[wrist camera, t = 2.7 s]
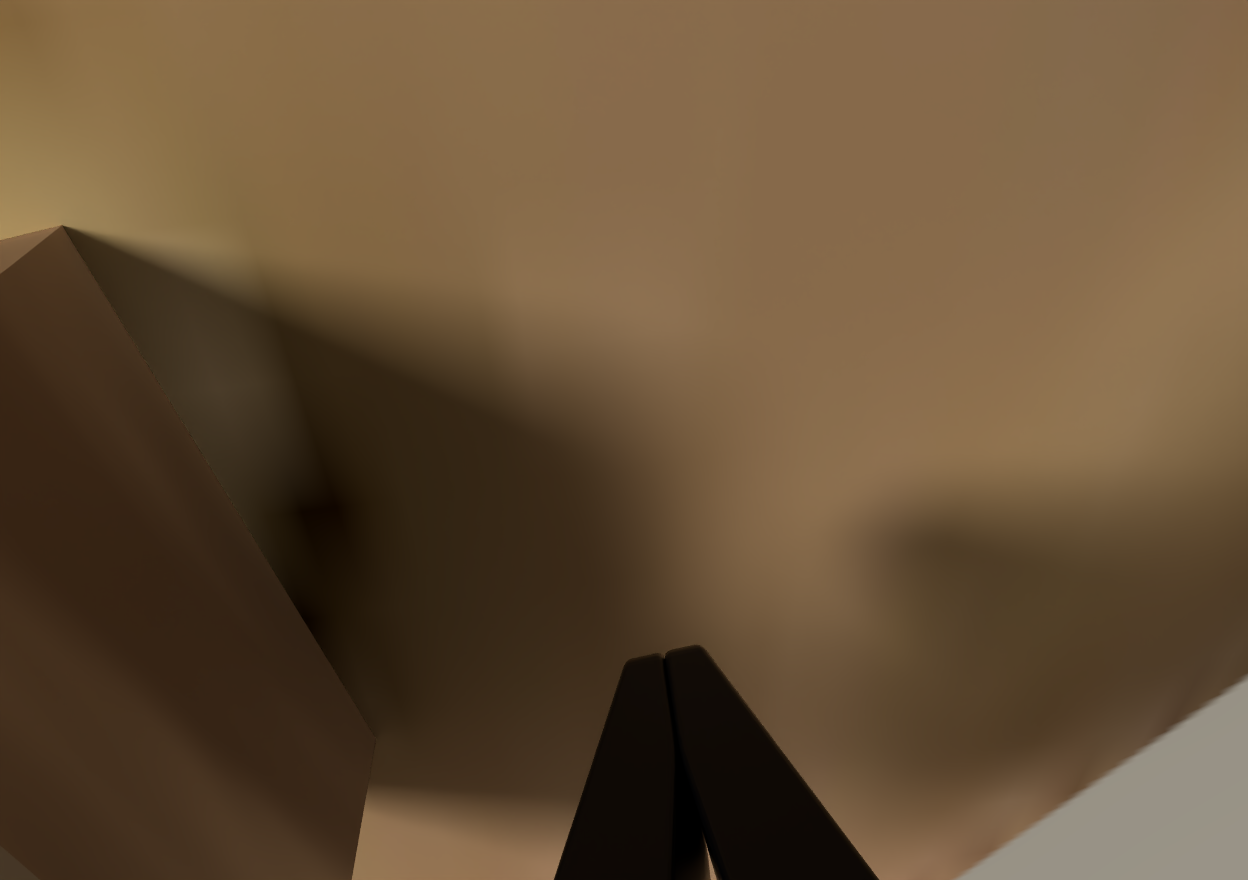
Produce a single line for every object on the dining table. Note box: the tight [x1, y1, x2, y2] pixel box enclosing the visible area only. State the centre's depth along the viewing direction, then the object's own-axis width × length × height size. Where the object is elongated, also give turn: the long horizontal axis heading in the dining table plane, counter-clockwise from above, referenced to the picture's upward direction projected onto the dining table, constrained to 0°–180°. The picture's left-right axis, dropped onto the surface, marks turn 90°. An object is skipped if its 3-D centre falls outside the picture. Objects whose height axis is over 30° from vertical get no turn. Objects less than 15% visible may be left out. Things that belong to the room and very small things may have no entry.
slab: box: [0, 225, 376, 880], centre depth 10 cm, size 3×10×7 cm, turn 12°
